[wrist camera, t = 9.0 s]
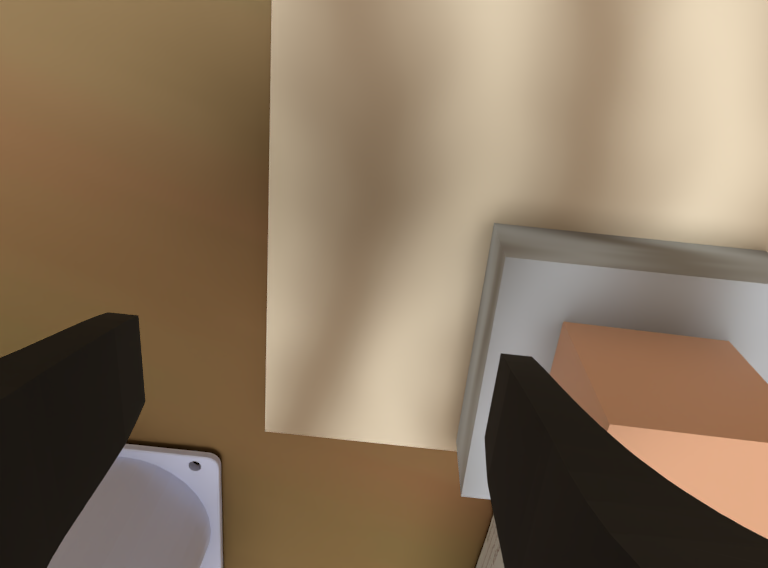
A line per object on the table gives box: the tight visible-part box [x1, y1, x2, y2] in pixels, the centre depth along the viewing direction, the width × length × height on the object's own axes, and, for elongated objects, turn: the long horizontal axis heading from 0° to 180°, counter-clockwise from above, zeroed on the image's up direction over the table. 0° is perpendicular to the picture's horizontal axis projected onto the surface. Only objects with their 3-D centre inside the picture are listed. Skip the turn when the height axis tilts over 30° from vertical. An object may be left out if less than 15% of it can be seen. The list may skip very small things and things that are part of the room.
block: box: [550, 321, 768, 539], centre depth 18 cm, size 5×5×5 cm
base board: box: [265, 0, 768, 499], centre depth 20 cm, size 18×18×4 cm
